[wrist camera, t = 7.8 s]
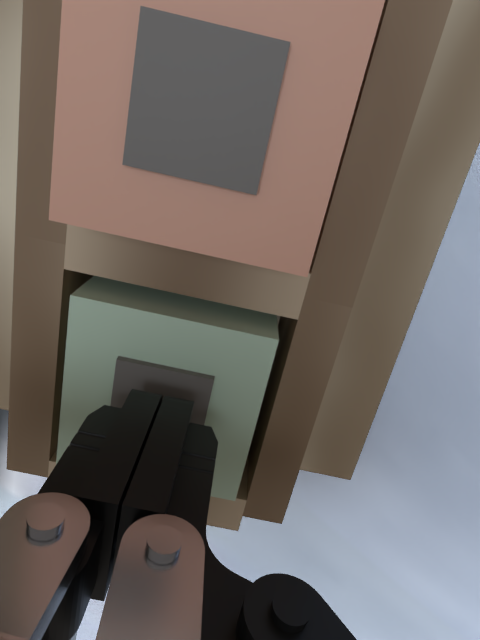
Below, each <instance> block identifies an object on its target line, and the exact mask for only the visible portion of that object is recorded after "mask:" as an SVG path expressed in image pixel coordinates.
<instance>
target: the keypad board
mask: <svg viewBox="0 0 480 640" xmlns="http://www.w3.org/2000/svg"><path fill="white" fill-rule="evenodd" d="M61 10H62V0H0V409H5V410H9V418H8V447H7V469H8V470H13V471H18V472H23V473H28V474H33V475H38V476H43V477H49V475H50V474H51V472H52V471H53V469H54V467H55V466H56V458H57V446H58V434H59V422H60V410H61V398H62V386H63V374H64V362H65V350H66V338H67V326H68V314H69V302H70V295H71V294H72V293H73V292H74V291H76V290H77V289H78V288H79V287H81V286H82V285H83V284H84V283H86V282H87V281H88V280H89V279H91V278H92V277H93V276H99V277H103V278H108V279H112V280H117V281H122V282H126V283H131V284H135V285H140V286H145V287H149V288H154V289H158V290H163V291H168V292H172V293H177V294H181V295H186V296H191V297H195V298H200V299H204V300H209V301H214V302H218V303H223V304H227V305H232V306H237V307H241V308H246V309H250V310H255V311H260V312H264V313H269V314H273V315H277V325H278V335H279V342H278V346H277V349H276V353H275V357H274V360H273V364H272V368H271V371H270V375H269V379H268V382H267V386H266V390H265V393H264V397H263V401H262V405H261V408H260V412H259V416H258V419H257V423H256V427H255V430H254V434H253V438H252V441H251V445H250V449H249V452H248V456H247V460H246V463H245V467H244V471H243V474H242V478H241V482H240V486H239V489H238V493H237V497H236V500H235V501H232V500H227V499H222V498H217V497H212V496H210V503H209V510H208V517H207V524H206V525H210V526H215V527H220V528H225V529H230V530H236V531H238V530H239V526H240V522H241V519H242V516H245V517H250V518H255V519H260V520H265V521H270V522H275V523H280V524H282V521H283V518H284V515H285V512H286V509H287V506H288V503H289V500H290V497H291V494H292V491H293V488H294V485H295V482H296V479H297V476H298V473H299V470H304V471H309V472H314V473H319V474H324V475H329V476H334V477H339V478H343V479H348V480H351V477H352V474H353V472H354V469H355V467H356V464H357V461H358V459H359V456H360V453H361V451H362V448H363V446H364V443H365V440H366V438H367V435H368V432H369V430H370V427H371V425H372V422H373V419H374V417H375V414H376V412H377V409H378V406H379V404H380V401H381V398H382V396H383V393H384V391H385V388H386V385H387V383H388V380H389V378H390V375H391V372H392V370H393V367H394V364H395V362H396V359H397V357H398V354H399V351H400V349H401V346H402V344H403V341H404V338H405V336H406V333H407V330H408V328H409V325H410V323H411V320H412V317H413V315H414V312H415V310H416V307H417V304H418V302H419V299H420V296H421V294H422V291H423V289H424V286H425V283H426V281H427V278H428V275H429V273H430V270H431V268H432V265H433V262H434V260H435V257H436V255H437V252H438V249H439V247H440V244H441V241H442V239H443V236H444V234H445V231H446V228H447V226H448V223H449V221H450V218H451V215H452V213H453V210H454V207H455V205H456V202H457V200H458V197H459V194H460V192H461V189H462V187H463V184H464V181H465V179H466V176H467V173H468V171H469V168H470V166H471V163H472V160H473V158H474V155H475V153H476V150H477V147H478V145H479V142H480V0H385V3H384V6H383V10H382V13H381V17H380V21H379V24H378V28H377V31H376V35H375V38H374V42H373V45H372V49H371V53H370V56H369V60H368V63H367V67H366V70H365V74H364V77H363V81H362V85H361V88H360V92H359V95H358V99H357V102H356V106H355V109H354V113H353V117H352V120H351V124H350V127H349V131H348V134H347V138H346V141H345V145H344V149H343V152H342V156H341V159H340V163H339V166H338V170H337V174H336V177H335V181H334V184H333V188H332V191H331V195H330V198H329V202H328V206H327V209H326V213H325V216H324V220H323V223H322V227H321V230H320V234H319V238H318V241H317V245H316V248H315V252H314V255H313V259H312V262H311V266H310V270H309V273H308V277H303V276H299V275H294V274H290V273H285V272H281V271H276V270H272V269H267V268H263V267H258V266H254V265H249V264H245V263H240V262H236V261H231V260H227V259H222V258H218V257H213V256H209V255H204V254H199V253H195V252H190V251H186V250H181V249H177V248H172V247H168V246H163V245H159V244H154V243H150V242H145V241H141V240H136V239H132V238H127V237H123V236H118V235H114V234H109V233H105V232H100V231H96V230H91V229H87V228H82V227H78V226H73V225H69V224H64V223H60V222H55V221H51V220H49V206H50V190H51V173H52V157H53V141H54V124H55V108H56V92H57V75H58V59H59V42H60V26H61Z"/></svg>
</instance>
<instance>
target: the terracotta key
mask: <svg viewBox="0 0 480 640" xmlns="http://www.w3.org/2000/svg"><path fill="white" fill-rule="evenodd" d="M384 3H385V0H62V10H61V26H60V42H59V59H58V75H57V92H56V108H55V124H54V141H53V157H52V173H51V190H50V206H49V220H51V221H55V222H60V223H64V224H69V225H73V226H78V227H82V228H87V229H91V230H96V231H100V232H105V233H109V234H114V235H118V236H123V237H127V238H132V239H136V240H141V241H145V242H150V243H154V244H159V245H163V246H168V247H172V248H177V249H181V250H186V251H190V252H195V253H199V254H204V255H209V256H213V257H218V258H222V259H227V260H231V261H236V262H240V263H245V264H249V265H254V266H258V267H263V268H267V269H272V270H276V271H281V272H285V273H290V274H294V275H299V276H303V277H308V273H309V270H310V266H311V262H312V259H313V255H314V252H315V248H316V245H317V241H318V238H319V234H320V230H321V227H322V223H323V220H324V216H325V213H326V209H327V206H328V202H329V198H330V195H331V191H332V188H333V184H334V181H335V177H336V174H337V170H338V166H339V163H340V159H341V156H342V152H343V149H344V145H345V141H346V138H347V134H348V131H349V127H350V124H351V120H352V117H353V113H354V109H355V106H356V102H357V99H358V95H359V92H360V88H361V85H362V81H363V77H364V74H365V70H366V67H367V63H368V60H369V56H370V53H371V49H372V45H373V42H374V38H375V35H376V31H377V28H378V24H379V21H380V17H381V13H382V10H383V6H384Z"/></svg>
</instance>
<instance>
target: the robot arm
mask: <svg viewBox="0 0 480 640" xmlns="http://www.w3.org/2000/svg"><path fill="white" fill-rule="evenodd" d="M162 399H163V400H162ZM193 407H194V401H190V400H185V399H180V398H175V397H170V396H166V395H165V396H164V398H163V395H160V394H156V393H151V392H146V391H141V390H136V389H132V390H131V391H130V393H129V395H128V397H127V399H126V401H125V402H124V404H123V406H122V408H117V407H113V406H108V405H103V406H102V407H100V408H99V409H97V410H95V411H94V412H92V413H91V414H89V415H88V416H87V417H86V419H85V420H84V422H83V423H82V425H81V427H80V428H79V430H78V433H76V434H75V436H74V438H73V439H72V441H71V442H70V445H69V446H68V447H67V449H66V450H65V452H64V453H63V455H62V456H61V458H60V460H59V461H58V463H57V464H56V466H55V467H54V469H53V471H52V472H51V474H50V475H49V477H48V478H47V480H46V482H45V483H44V485H43V486H42V488H41V489H40V491H39V492H38V494H36V495H33V496H29V497H27V498H25V499H22V500H21V501H19V502H17V503H16V504H14V505H13V506H12V507H11V508H10V509H9V510H8V511H7V512H6V513H5V514H4V515H3V516H2V518H1V519H0V640H76V635H77V630H78V628H79V626H80V624H81V621H82V619H83V616H84V613H85V611H86V608H87V605H88V603H89V600H90V599H95V600H101V601H104V599H105V596H106V593H107V591H108V594H107V597H106V601H105V605H104V609H103V613H102V617H101V621H100V625H99V629H98V633H97V636H96V640H356V638H355V637H354V636H353V635H352V633H351V632H350V631H349V630H348V629H347V627H346V626H345V625H344V624H343V623H342V621H341V620H340V619H339V618H338V616H337V615H336V614H335V613H334V612H333V610H332V609H331V608H330V607H329V605H328V604H327V603H326V602H325V601H324V599H323V598H322V597H321V596H320V595H319V594H318V592H317V591H316V590H315V589H314V588H312V587H311V586H310V585H309V584H307V583H306V582H304V581H303V580H301V579H298V578H296V577H294V576H291V575H287V574H269V575H265V576H263V577H260V578H259V579H257V580H256V581H255V582H254V583H252V582H250V581H249V580H247V579H245V578H243V577H241V576H239V575H237V574H235V573H234V572H232V571H230V570H229V569H227V568H226V567H225V566H224V565H222V564H221V563H220V562H219V561H218V560H217V559H216V557H215V556H214V554H213V553H212V552H211V550H210V548H209V545H208V542H207V539H206V524H207V517H208V510H209V503H210V496H211V489H212V482H213V474H214V468H215V461H216V455H217V448H218V441H217V438H216V436H215V434H214V431H213V429H212V427H210V426H205V425H200V424H195V423H190V421H191V416H192V412H193ZM109 585H110V586H109ZM108 588H109V590H108Z"/></svg>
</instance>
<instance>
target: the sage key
mask: <svg viewBox="0 0 480 640" xmlns="http://www.w3.org/2000/svg"><path fill="white" fill-rule="evenodd" d="M278 342H279V335H278V325H277V315H273V314H269V313H264V312H260V311H255V310H250V309H246V308H241V307H237V306H232V305H227V304H223V303H218V302H214V301H209V300H204V299H200V298H195V297H191V296H186V295H181V294H177V293H172V292H168V291H163V290H158V289H154V288H149V287H145V286H140V285H135V284H131V283H126V282H122V281H117V280H112V279H108V278H103V277H99V276H93V277H92V278H91V279H89V280H88V281H87V282H86V283H84V284H83V285H82V286H81V287H79V288H78V289H77V290H76V291H74V292H73V293H72V294H71V295H70V302H69V314H68V326H67V338H66V350H65V362H64V374H63V386H62V398H61V410H60V422H59V434H58V446H57V458H56V464H57V463H58V461H59V460H60V458H61V456H62V455H63V453H64V452H65V450H66V449H67V447H68V446H69V445H70V442H71V441H72V439H73V438H74V436H75V434H76V433H78V430H79V428H80V427H81V425H82V423H83V422H84V420H85V419H86V417H87V416H88V415H89V414H91V413H92V412H94V411H95V410H97V409H99V408H100V407H102V406H103V405H108V406H113V407H117V408H122V406H123V404H124V402H125V401H126V399H127V397H128V395H129V393H130V391H131V390H132V389H136V390H141V391H146V392H151V393H156V394H160V395H163V398H164V396H165V395H166V396H170V397H175V398H180V399H185V400H190V401H194V407H193V412H192V416H191V421H190V423H195V424H200V425H205V426H210V427H212V429H213V431H214V434H215V436H216V438H217V441H218V448H217V455H216V461H215V468H214V474H213V482H212V489H211V496H212V497H217V498H222V499H227V500H232V501H235V500H236V497H237V493H238V489H239V486H240V482H241V478H242V474H243V471H244V467H245V463H246V460H247V456H248V452H249V449H250V445H251V441H252V438H253V434H254V430H255V427H256V423H257V419H258V416H259V412H260V408H261V405H262V401H263V397H264V393H265V390H266V386H267V382H268V379H269V375H270V371H271V368H272V364H273V360H274V357H275V353H276V349H277V346H278ZM162 400H163V399H162Z"/></svg>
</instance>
